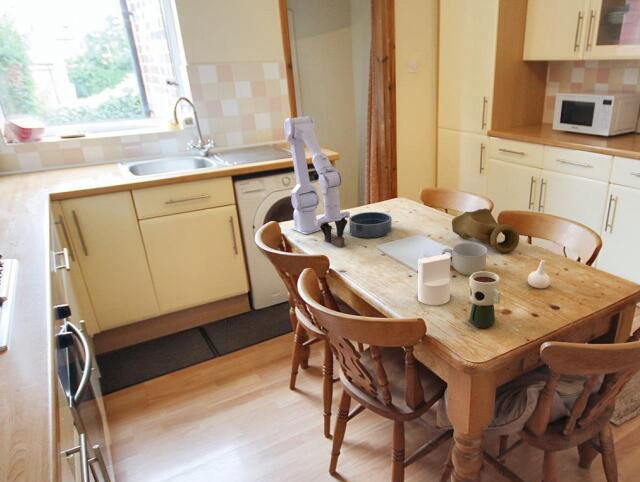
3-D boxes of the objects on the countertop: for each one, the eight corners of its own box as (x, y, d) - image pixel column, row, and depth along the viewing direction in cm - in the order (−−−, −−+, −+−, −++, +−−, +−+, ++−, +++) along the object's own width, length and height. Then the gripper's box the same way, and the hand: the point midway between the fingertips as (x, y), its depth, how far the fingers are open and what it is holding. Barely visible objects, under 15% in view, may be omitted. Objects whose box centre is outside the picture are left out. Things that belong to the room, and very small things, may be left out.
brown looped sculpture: (502, 212, 178) (527, 220, 157) (492, 244, 180) (515, 257, 159) (457, 200, 174) (477, 207, 153) (447, 233, 177) (466, 244, 156)
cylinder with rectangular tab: (427, 308, 126) (427, 267, 121) (412, 294, 134) (412, 255, 129) (455, 300, 129) (457, 261, 125) (439, 288, 137) (440, 250, 132)
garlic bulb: (524, 280, 140) (527, 256, 137) (545, 280, 139) (548, 255, 136) (530, 290, 134) (532, 264, 131) (552, 290, 134) (555, 264, 130)
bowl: (341, 232, 185) (340, 218, 183) (372, 222, 195) (371, 209, 193) (368, 242, 173) (368, 228, 171) (400, 231, 184) (400, 217, 182)
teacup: (488, 266, 150) (489, 243, 147) (483, 280, 140) (484, 256, 137) (445, 262, 154) (446, 239, 151) (438, 275, 145) (438, 252, 142)
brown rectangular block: (324, 241, 176) (324, 233, 175) (328, 239, 177) (327, 231, 176) (341, 247, 169) (340, 239, 168) (345, 246, 170) (344, 238, 169)
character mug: (457, 317, 121) (459, 272, 116) (478, 310, 124) (481, 266, 119) (485, 337, 112) (489, 289, 107) (507, 328, 115) (511, 281, 110)
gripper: (322, 211, 160) (325, 248, 165) (354, 202, 169) (356, 237, 174) (310, 207, 165) (313, 243, 170) (342, 199, 174) (344, 233, 179)
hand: (334, 240), depth 173 cm, fingers open, 5 cm apart
